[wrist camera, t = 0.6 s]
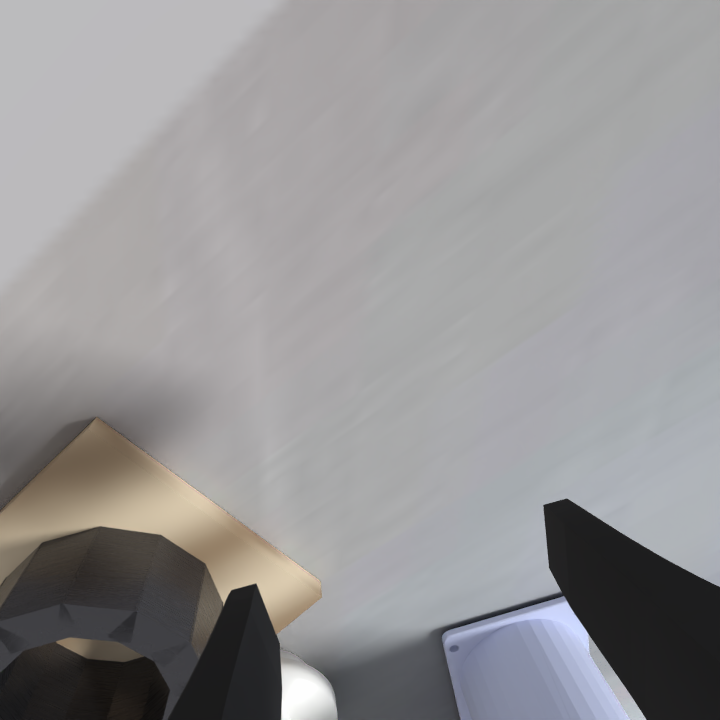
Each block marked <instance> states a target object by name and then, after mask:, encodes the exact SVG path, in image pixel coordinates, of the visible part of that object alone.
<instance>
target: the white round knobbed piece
mask: <svg viewBox="0 0 720 720" xmlns="http://www.w3.org/2000/svg"><path fill="white" fill-rule="evenodd" d="M280 658H281V674H282V708H281V720H338V717H337V707H336V697H335V693H334V690H333V688H332V685H331V684H330V682H329V681H328V679H327V678H326V677H325V676H324V675H323V674H322V673H321V672H319V671H318V670H316V669H315V668H313V667H311V666H310V665H308V664H306V663H305V662H304V661H303V660H302V659H301V658H299V657H298V656H297V655H295V654H293V653H291V652H288V651H285V650H281V649H280Z"/></svg>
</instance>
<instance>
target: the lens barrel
mask: <svg viewBox="0 0 720 720" xmlns="http://www.w3.org/2000/svg"><path fill="white" fill-rule="evenodd" d="M222 608H223V601H222V599H221V597H220V595H219V592H218V590H217V588H216V586H215V584H214V581H213V579H212V577H211V575H210V573H209V570H208V568H207V566H206V564H205V563H204V562H202V561H201V560H199V559H198V558H196V557H194V556H193V555H191V554H190V553H188V552H187V551H185V550H184V549H182V548H181V547H179V546H178V545H176V544H174V543H173V542H171V541H170V540H168V539H167V538H165V537H164V536H162V535H161V534H160V535H159V534H151V533H144V532H137V531H130V530H123V529H116V528H109V527H102V526H99V527H96V528H93V529H89V530H85V531H82V532H78V533H75V534H71V535H67V536H64V537H60V538H56V539H53V540H49V541H45V542H42V543H41V544H40V545H39V546H38V547H37V548H36V549H35V550H34V551H33V552H32V553H31V554H30V555H29V556H28V557H27V558H26V559H25V560H24V561H23V562H22V563H21V564H20V565H19V566H18V567H17V568H16V569H15V570H14V571H13V572H12V573H11V574H10V575H9V576H8V577H6V578H5V580H4V581H3V583H2V584H1V586H0V720H167V719H168V717H169V715H170V714H171V712H172V710H173V708H174V706H175V704H176V703H177V701H178V699H179V697H180V695H181V693H182V692H183V690H184V688H185V686H186V684H187V682H188V680H189V678H190V676H191V674H192V672H193V670H194V668H195V666H196V664H197V662H198V660H199V658H200V656H201V654H202V652H203V650H204V648H205V646H206V644H207V641H208V639H209V637H210V635H211V633H212V631H213V628H214V626H215V624H216V622H217V620H218V617H219V615H220V613H221V610H222ZM66 638H80V639H91V640H102V641H113V642H119V643H121V644H122V645H124V646H126V647H128V648H130V649H132V650H134V651H135V652H137V653H139V654H141V655H143V656H144V657H140V658H137V659H133V660H130V661H126V662H119V661H107V660H95V659H87V658H85V657H83V656H81V655H79V654H77V653H75V652H73V651H71V650H69V649H67V648H65V647H64V646H62V645H60V644H58V643H57V642H56V641H59V640H63V639H66Z"/></svg>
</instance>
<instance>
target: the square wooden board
mask: <svg viewBox="0 0 720 720" xmlns="http://www.w3.org/2000/svg"><path fill="white" fill-rule="evenodd" d="M99 526H102V527H109V528H116V529H123V530H130V531H137V532H144V533H151V534H159V535H160V534H161V535H162V536H164V537H165V538H167V539H168V540H170V541H171V542H173V543H174V544H176V545H178V546H179V547H181V548H182V549H184V550H185V551H187V552H188V553H190V554H191V555H193V556H194V557H196V558H198V559H199V560H201V561H202V562H204V563H205V564H206V566H207V568H208V570H209V573H210V575H211V577H212V579H213V581H214V584H215V586H216V588H217V590H218V592H219V595H220V597H221V599H222V601H223V606H224V604H225V601H226V599H227V597H228V594H229V593H230V592H231V590H233V589H237V588H241V587H244V586H248V585H252V584H255V583H256V584H257V586H258V589H259V591H260V594H261V597H262V599H263V602H264V604H265V607H266V609H267V612H268V615H269V617H270V620H271V622H272V625H273V628H274V630H275V633H276V634H277V633H279V632H280V631H281V630H282V629H284V628H285V627H286V626H287V625H288V624H290V623H291V622H292V621H293V620H295V619H296V618H297V617H298V616H299V615H301V614H302V613H303V612H304V611H306V610H307V609H308V608H309V607H311V606H312V605H313V604H314V603H315V602H317V601H318V600H319V599H320V598H322V593H321V582H320V581H319V580H318V579H317V578H315V577H314V576H313V575H311V574H310V573H309V572H307V571H306V570H304V569H303V568H302V567H300V566H299V565H298V564H296V563H295V562H294V561H292V560H291V559H289V558H288V557H287V556H285V555H284V554H283V553H281V552H280V551H279V550H277V549H276V548H275V547H273V546H272V545H270V544H269V543H268V542H266V541H265V540H264V539H262V538H261V537H260V536H258V535H257V534H255V533H254V532H253V531H251V530H250V529H249V528H247V527H246V526H245V525H243V524H242V523H240V522H239V521H238V520H236V519H235V518H234V517H232V516H231V515H230V514H228V513H227V512H225V511H224V510H223V509H221V508H220V507H219V506H217V505H216V504H215V503H213V502H212V501H210V500H209V499H208V498H206V497H205V496H204V495H202V494H201V493H200V492H198V491H197V490H195V489H194V488H193V487H191V486H190V485H189V484H187V483H186V482H185V481H183V480H182V479H181V478H179V477H178V476H176V475H175V474H174V473H172V472H171V471H170V470H168V469H167V468H166V467H164V466H163V465H161V464H160V463H159V462H157V461H156V460H155V459H153V458H152V457H151V456H149V455H148V454H146V453H145V452H144V451H142V450H141V449H140V448H138V447H137V446H136V445H134V444H133V443H131V442H130V441H129V440H127V439H126V438H125V437H123V436H122V435H121V434H119V433H118V432H116V431H115V430H114V429H112V428H111V427H110V426H108V425H107V424H106V423H104V422H103V421H101V420H100V419H99V418H97V417H96V418H95V419H94V420H93V421H92V422H91V423H90V424H89V425H88V426H87V427H86V428H85V429H84V430H83V431H82V432H81V433H80V434H79V435H78V436H77V437H76V438H75V439H74V440H73V441H71V442H70V443H69V444H68V445H67V446H66V447H65V448H64V449H63V450H62V451H61V452H60V453H59V454H58V455H57V456H56V457H55V458H54V459H53V460H52V461H51V462H50V463H49V464H48V465H47V466H46V467H45V468H44V469H43V470H42V471H41V472H40V473H39V474H37V475H36V476H35V477H34V478H33V479H32V480H31V481H30V482H29V483H28V484H27V485H26V486H25V487H24V488H23V489H22V490H21V491H20V492H19V493H18V494H17V495H16V496H15V497H14V498H13V499H12V500H11V501H10V502H9V503H8V504H7V505H6V506H5V507H4V508H2V509H1V510H0V586H1V584H2V583H3V581H4V580H5V578H6V577H8V576H9V575H10V574H11V573H12V572H13V571H14V570H15V569H16V568H17V567H18V566H19V565H20V564H21V563H22V562H23V561H24V560H25V559H26V558H27V557H28V556H29V555H30V554H31V553H32V552H33V551H34V550H35V549H36V548H37V547H38V546H39V545H40V544H41V543H42V542H45V541H49V540H53V539H56V538H60V537H64V536H67V535H71V534H75V533H78V532H82V531H85V530H89V529H93V528H96V527H99ZM56 642H57V643H58V644H60V645H62V646H64V647H65V648H67V649H69V650H71V651H73V652H75V653H77V654H79V655H81V656H83V657H85V658H87V659H95V660H107V661H119V662H126V661H130V660H133V659H137V658H140V657H144V656H143V655H141V654H139V653H137V652H135V651H134V650H132V649H130V648H128V647H126V646H124V645H122V644H121V643H119V642H113V641H102V640H91V639H80V638H66V639H63V640H59V641H56Z"/></svg>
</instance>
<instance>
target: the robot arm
mask: <svg viewBox="0 0 720 720" xmlns="http://www.w3.org/2000/svg"><path fill="white" fill-rule="evenodd" d="M543 506H544V516H545V527H546V538H547V549H548V560H549V568H550V570H551V572H552V574H553V576H554V578H555V580H556V582H557V584H558V586H559V588H560V589H561V591H562V593H563V595H564V596H563V597H560V598H556V599H553V600H550V601H546V602H543V603H539V604H536V605H533V606H529V607H526V608H522V609H519V610H516V611H512V612H509V613H505V614H502V615H499V616H495V617H492V618H489V619H485V620H482V621H478V622H475V623H472V624H468V625H465V626H461V627H458V628H455V629H451V630H448V631H446V632H445V633H444V634H443V636H442V642H443V647H444V651H445V655H446V660H447V664H448V668H449V673H450V677H451V681H452V686H453V690H454V694H455V699H456V703H457V707H458V712H459V716H460V720H630V719H629V717H628V715H627V714H626V712H625V711H624V709H623V707H622V706H621V704H620V703H619V701H618V699H617V698H616V696H615V695H614V693H613V691H612V690H611V688H610V687H609V685H608V683H607V682H606V680H605V679H604V677H603V675H602V674H601V672H600V671H599V669H598V667H597V666H596V664H595V663H594V661H593V659H592V658H591V656H590V655H589V642H588V634H589V635H590V637H591V638H592V640H593V641H594V643H595V644H596V646H597V647H598V648H599V650H600V651H601V653H602V654H603V656H604V657H605V659H606V660H607V661H608V663H609V664H610V666H611V667H612V669H613V670H614V672H615V673H616V674H617V676H618V677H619V679H620V680H621V682H622V683H623V684H624V686H625V687H626V689H627V690H628V692H629V693H630V695H631V696H632V698H633V699H634V701H635V702H636V704H637V705H638V707H639V708H640V710H641V712H642V713H643V715H644V716H645V718H646V719H647V720H720V587H718V586H716V585H714V584H712V583H710V582H708V581H706V580H704V579H702V578H700V577H698V576H696V575H694V574H692V573H690V572H689V571H687V570H685V569H683V568H681V567H679V566H677V565H675V564H673V563H672V562H670V561H668V560H666V559H664V558H663V557H661V556H659V555H657V554H655V553H654V552H652V551H650V550H649V549H647V548H645V547H644V546H642V545H640V544H639V543H637V542H635V541H634V540H632V539H630V538H629V537H627V536H625V535H624V534H622V533H620V532H619V531H617V530H616V529H614V528H612V527H611V526H609V525H608V524H606V523H605V522H603V521H601V520H600V519H598V518H597V517H595V516H594V515H592V514H591V513H589V512H587V511H586V510H584V509H583V508H581V507H580V506H578V505H576V504H575V503H573V502H572V501H570V500H568V499H564V500H560V501H556V502H553V503H549V504H545V505H543ZM281 708H282V674H281V658H280V643H279V641H278V638H277V635H276V633H275V630H274V628H273V625H272V622H271V620H270V617H269V615H268V612H267V609H266V607H265V604H264V602H263V599H262V597H261V594H260V591H259V589H258V586H257V584H256V583H255V584H252V585H248V586H244V587H241V588H237V589H233V590H231V592H230V593H229V594H228V597H227V599H226V601H225V604H224V606H223V608H222V610H221V613H220V615H219V617H218V620H217V622H216V624H215V626H214V628H213V631H212V633H211V635H210V637H209V639H208V641H207V644H206V646H205V648H204V650H203V652H202V654H201V656H200V658H199V660H198V662H197V664H196V666H195V668H194V670H193V672H192V674H191V676H190V678H189V680H188V682H187V684H186V686H185V688H184V690H183V692H182V693H181V695H180V697H179V699H178V701H177V703H176V704H175V706H174V708H173V710H172V712H171V714H170V715H169V717H168V719H167V720H281Z"/></svg>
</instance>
